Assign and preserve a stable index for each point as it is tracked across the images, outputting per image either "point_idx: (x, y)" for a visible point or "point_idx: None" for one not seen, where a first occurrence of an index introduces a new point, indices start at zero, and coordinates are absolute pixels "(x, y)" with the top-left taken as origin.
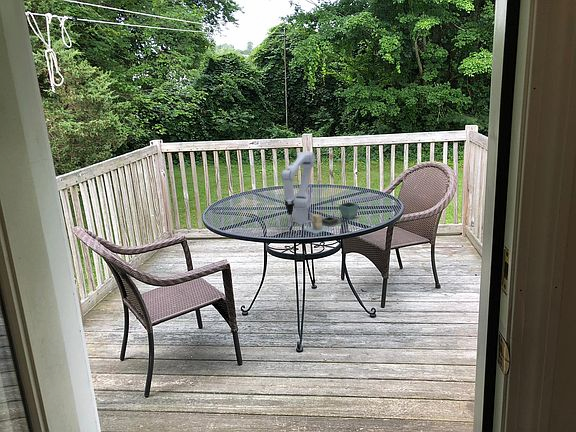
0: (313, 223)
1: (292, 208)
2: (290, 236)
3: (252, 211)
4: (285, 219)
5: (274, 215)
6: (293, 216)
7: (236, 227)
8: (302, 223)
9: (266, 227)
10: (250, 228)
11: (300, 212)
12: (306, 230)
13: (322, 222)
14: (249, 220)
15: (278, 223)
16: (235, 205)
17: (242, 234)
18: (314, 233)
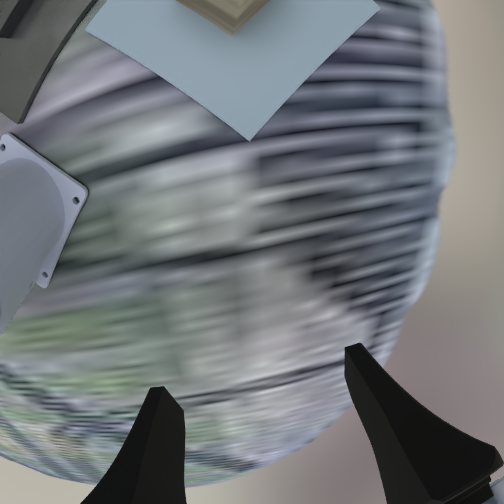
0: (249, 9)
1: (430, 412)
2: (407, 215)
3: (29, 432)
4: (28, 331)
5: (13, 379)
6: (21, 302)
7: (224, 454)
8: (72, 189)
9: (206, 390)
10: (232, 429)
11: (8, 264)
12: (292, 93)
13: (32, 15)
14: (122, 441)
15: (111, 355)
16: (20, 452)
17: (318, 423)
18: (367, 19)
